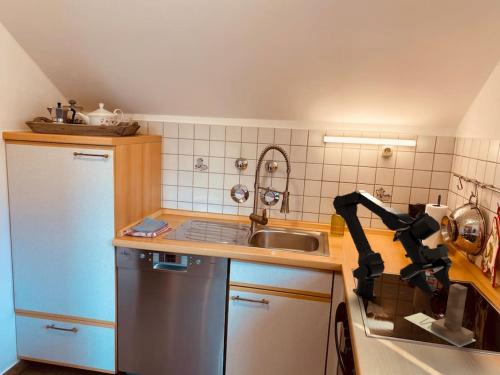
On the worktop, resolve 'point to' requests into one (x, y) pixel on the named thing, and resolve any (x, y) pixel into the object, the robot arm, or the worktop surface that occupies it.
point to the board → (429, 325)
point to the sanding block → (454, 317)
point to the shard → (375, 309)
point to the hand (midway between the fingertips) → (441, 293)
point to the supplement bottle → (431, 280)
